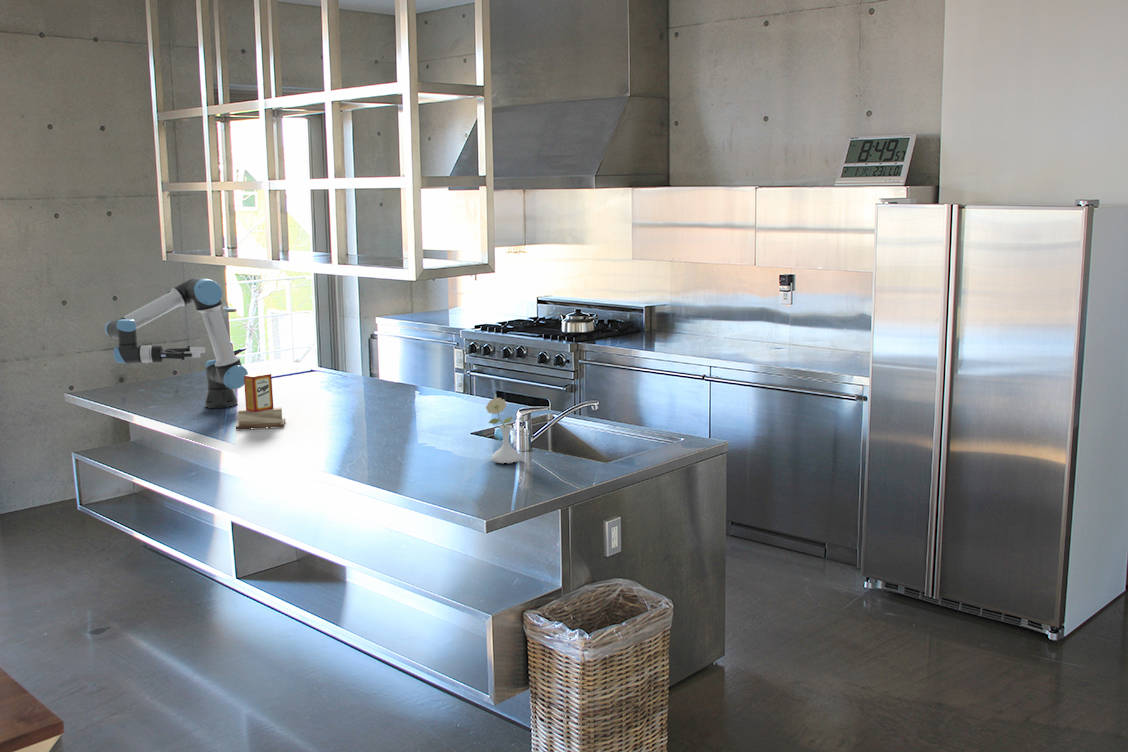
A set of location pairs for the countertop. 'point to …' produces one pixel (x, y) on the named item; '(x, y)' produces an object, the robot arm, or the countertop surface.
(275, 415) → the ridge stand
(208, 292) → the robot arm
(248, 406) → the baking soda box
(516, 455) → the flower in vase
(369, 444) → the countertop surface
